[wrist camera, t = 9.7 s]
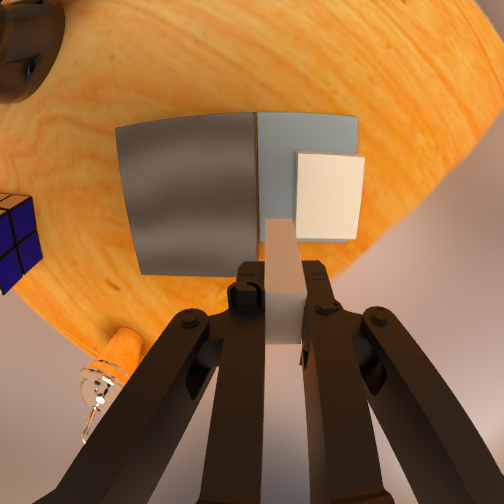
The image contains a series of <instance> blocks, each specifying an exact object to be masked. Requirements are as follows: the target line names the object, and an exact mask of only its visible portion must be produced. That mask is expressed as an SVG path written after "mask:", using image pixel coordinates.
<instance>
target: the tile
mask: <svg viewBox="0 0 504 504" xmlns="http://www.w3.org/2000/svg"><path fill="white" fill-rule="evenodd" d="M364 161H365V157H363V156H361V155H359V154H352V153H339V152H322V151H297V150H296V179H295V213H294V228H295V232H296V237H297V238H324V239H356V234H357V227H358V219H359V212H360V203H361V194H362V185H363V174H364Z"/></svg>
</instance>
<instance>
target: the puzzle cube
mask: <svg viewBox="0 0 504 504" xmlns="http://www.w3.org/2000/svg"><path fill="white" fill-rule="evenodd" d="M35 229H36V224H35V218H34V211H33V204H32V198H31V197H29V196H20V195H11V194H1V193H0V294H2V295H5V294H6V293H7V292H8V291H9V290H10V289H11V288H12V287H13V286H14V285H15V284H16V283H17V282H18V281H19V280H20V279H21V278H22V277H23V274H24V275H25V274H26V273H27V272H28V271H29V270H30V269H31V268H32V267H33V266H35V265H36V264H37V263H38V262H39V261H40V260H41V259H42V255H41V250H40V246H39V241H38V235H37V231H36V230H35Z"/></svg>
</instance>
